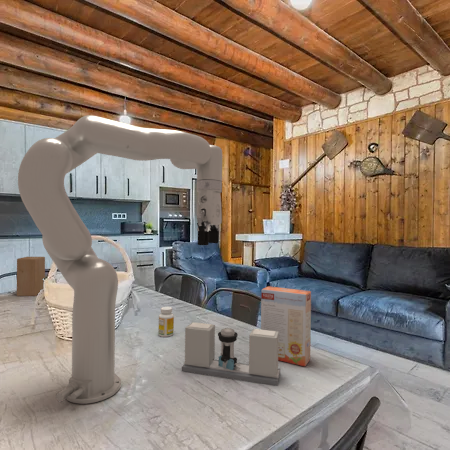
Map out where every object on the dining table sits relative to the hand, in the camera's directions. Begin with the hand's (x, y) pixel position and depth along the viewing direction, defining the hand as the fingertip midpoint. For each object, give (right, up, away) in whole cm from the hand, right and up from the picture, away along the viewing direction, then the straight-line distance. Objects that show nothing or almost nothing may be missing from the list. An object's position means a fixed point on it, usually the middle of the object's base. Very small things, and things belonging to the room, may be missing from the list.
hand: (208, 244), depth 95 cm
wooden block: (-101, -32, +76) cm, 131 cm away
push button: (+6, -33, -10) cm, 35 cm away
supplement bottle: (-16, -34, +18) cm, 42 cm away
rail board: (+7, -34, -9) cm, 36 cm away
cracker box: (+23, -35, 0) cm, 42 cm away
